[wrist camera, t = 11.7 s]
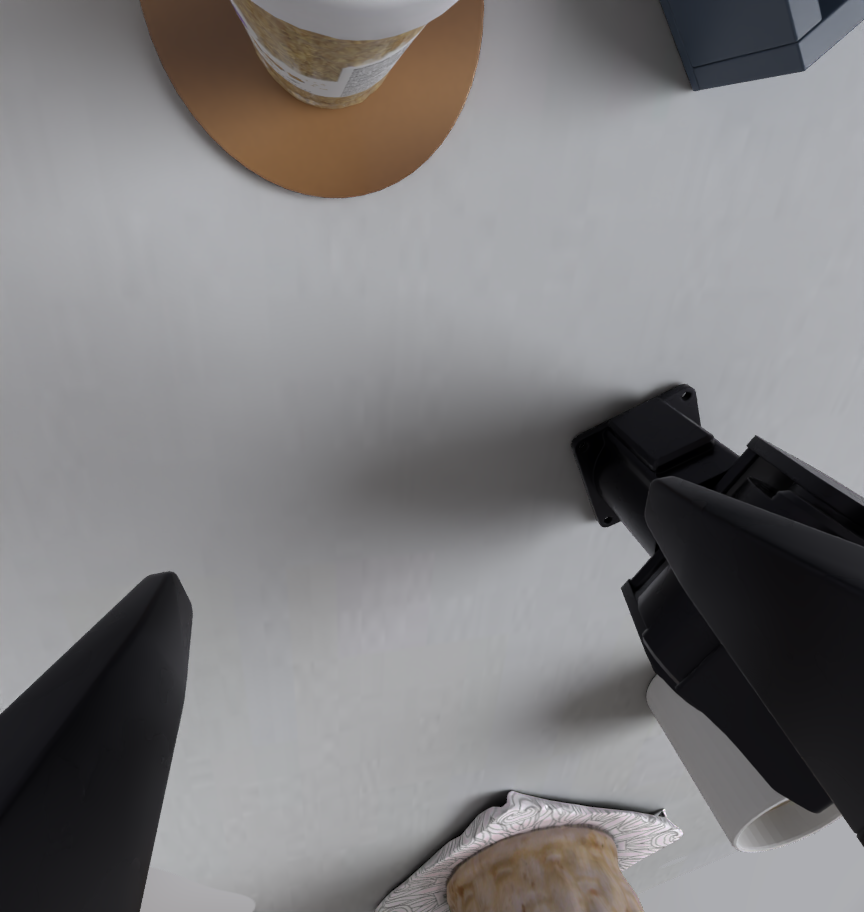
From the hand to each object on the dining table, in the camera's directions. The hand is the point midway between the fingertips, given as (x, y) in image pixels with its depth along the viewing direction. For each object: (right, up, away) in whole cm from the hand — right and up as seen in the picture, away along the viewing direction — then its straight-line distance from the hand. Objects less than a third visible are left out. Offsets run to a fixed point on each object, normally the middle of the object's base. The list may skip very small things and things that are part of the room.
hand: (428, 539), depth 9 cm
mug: (+22, -16, +31) cm, 41 cm away
